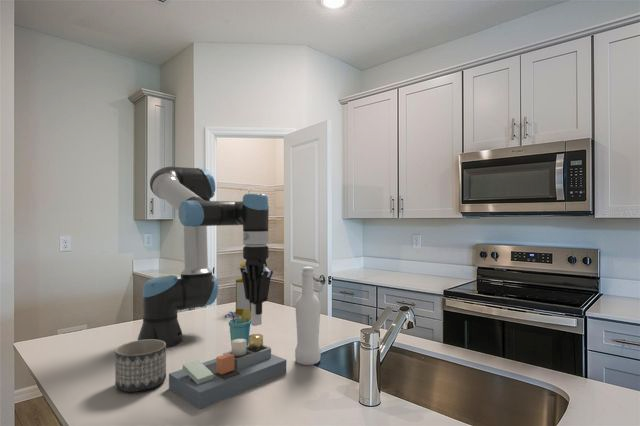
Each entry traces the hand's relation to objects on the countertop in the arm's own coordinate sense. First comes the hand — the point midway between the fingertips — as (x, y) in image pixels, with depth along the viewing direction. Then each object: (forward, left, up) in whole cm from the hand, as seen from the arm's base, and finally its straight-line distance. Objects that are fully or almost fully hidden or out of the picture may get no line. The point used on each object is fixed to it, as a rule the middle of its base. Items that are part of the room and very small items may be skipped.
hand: (256, 324), depth 115 cm
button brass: (0, 0, -7) cm, 7 cm away
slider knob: (+3, -12, -9) cm, 16 cm away
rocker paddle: (0, -19, -8) cm, 21 cm away
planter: (-16, -27, -14) cm, 35 cm away
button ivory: (0, -6, -7) cm, 9 cm away
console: (0, -9, -14) cm, 17 cm away
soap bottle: (-56, +36, -14) cm, 68 cm away
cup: (-16, +5, -14) cm, 22 cm away
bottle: (+6, +16, -14) cm, 22 cm away
